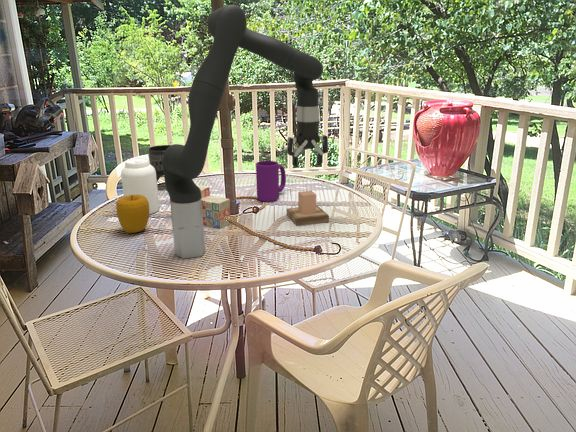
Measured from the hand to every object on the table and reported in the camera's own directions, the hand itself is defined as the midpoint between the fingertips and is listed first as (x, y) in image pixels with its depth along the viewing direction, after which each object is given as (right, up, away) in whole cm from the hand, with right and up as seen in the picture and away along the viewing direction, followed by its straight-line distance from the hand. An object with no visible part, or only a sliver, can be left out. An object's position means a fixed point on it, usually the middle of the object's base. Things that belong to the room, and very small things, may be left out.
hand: (307, 166), depth 174 cm
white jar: (-63, -16, +17) cm, 67 cm away
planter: (-61, -5, +47) cm, 77 cm away
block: (0, -16, +6) cm, 17 cm away
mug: (-13, -10, +32) cm, 35 cm away
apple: (-59, -23, -3) cm, 64 cm away
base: (0, -18, +7) cm, 20 cm away
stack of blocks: (-38, -20, +6) cm, 43 cm away
